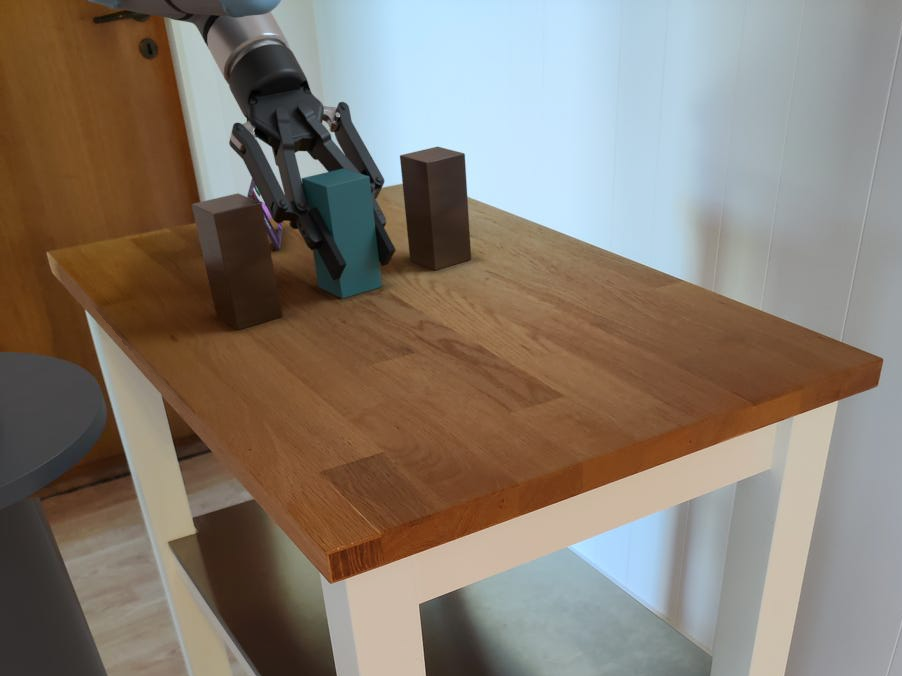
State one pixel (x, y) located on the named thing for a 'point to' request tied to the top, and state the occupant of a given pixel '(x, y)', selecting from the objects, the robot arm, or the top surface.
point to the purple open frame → (267, 218)
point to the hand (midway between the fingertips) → (364, 264)
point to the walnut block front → (238, 260)
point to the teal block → (346, 229)
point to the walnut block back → (436, 207)
